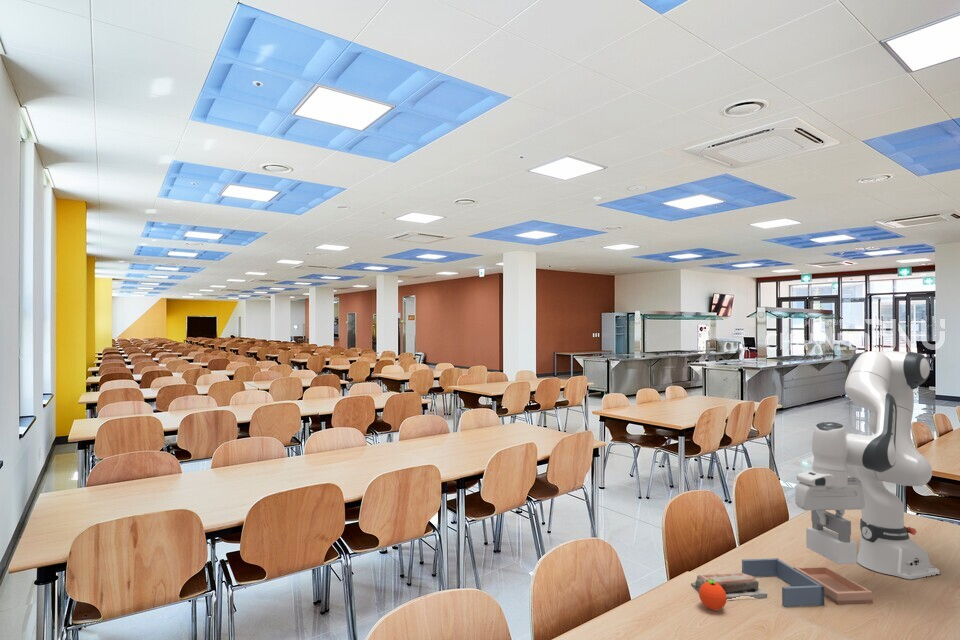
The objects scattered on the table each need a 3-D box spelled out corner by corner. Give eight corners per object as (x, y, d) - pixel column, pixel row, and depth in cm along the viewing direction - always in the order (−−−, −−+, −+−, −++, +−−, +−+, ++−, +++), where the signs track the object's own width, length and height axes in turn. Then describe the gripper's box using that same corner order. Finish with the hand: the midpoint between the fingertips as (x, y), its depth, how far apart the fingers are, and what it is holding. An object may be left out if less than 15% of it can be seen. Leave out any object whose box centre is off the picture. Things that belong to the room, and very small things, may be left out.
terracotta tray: (825, 575, 162) (825, 565, 162) (873, 602, 145) (872, 592, 145) (793, 576, 160) (793, 567, 161) (837, 604, 144) (837, 593, 144)
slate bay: (777, 574, 162) (777, 558, 162) (824, 605, 143) (824, 586, 143) (742, 575, 161) (741, 559, 161) (784, 607, 142) (784, 588, 142)
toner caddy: (824, 547, 159) (823, 507, 160) (856, 563, 147) (856, 521, 148) (806, 547, 159) (806, 508, 159) (837, 564, 147) (837, 521, 147)
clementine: (693, 599, 145) (693, 574, 145) (718, 600, 145) (718, 574, 145) (705, 614, 137) (705, 587, 137) (731, 615, 137) (731, 588, 137)
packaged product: (710, 586, 144) (690, 570, 154) (710, 603, 144) (690, 587, 154) (768, 582, 147) (744, 567, 157) (768, 599, 147) (744, 583, 157)
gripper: (852, 474, 158) (853, 520, 158) (791, 474, 156) (791, 521, 155) (870, 480, 152) (870, 527, 151) (806, 480, 150) (807, 528, 149)
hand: (830, 524), depth 153 cm, fingers closed on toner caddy, 2 cm apart
